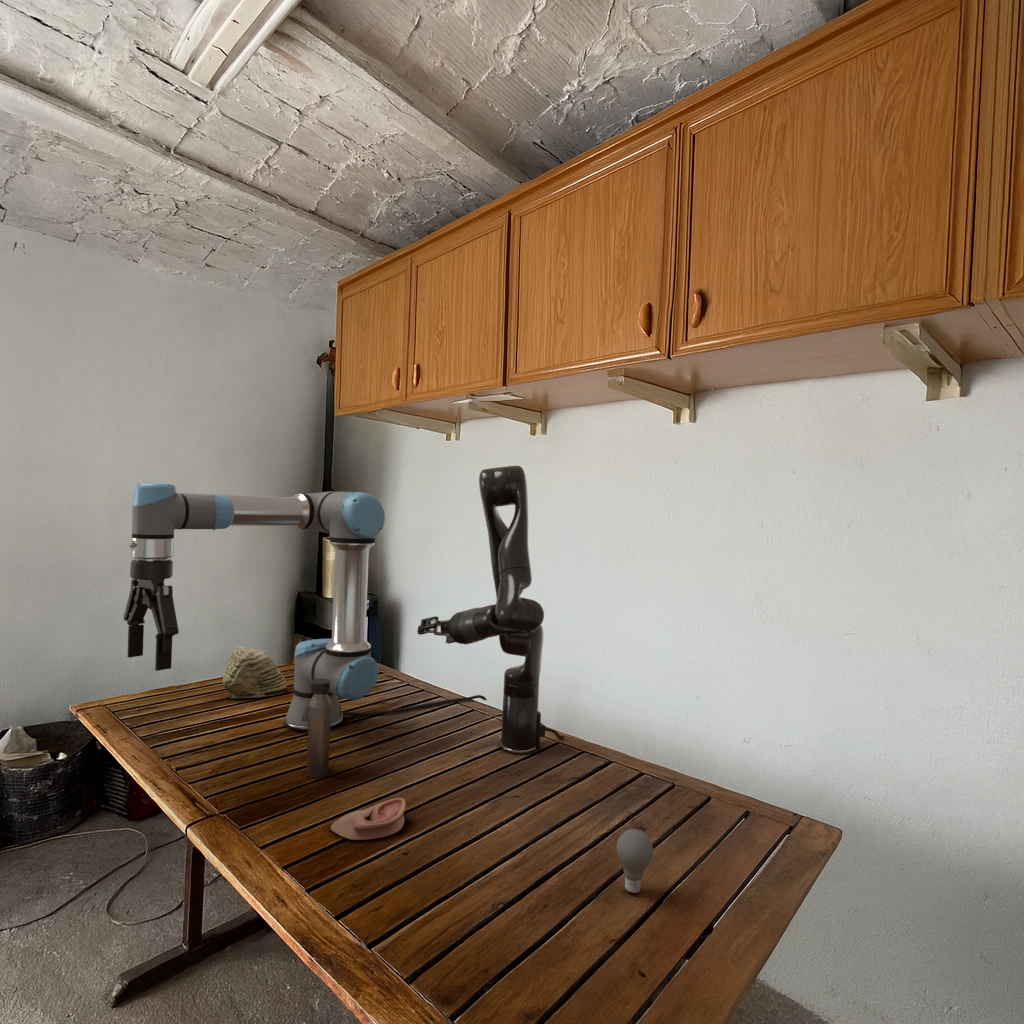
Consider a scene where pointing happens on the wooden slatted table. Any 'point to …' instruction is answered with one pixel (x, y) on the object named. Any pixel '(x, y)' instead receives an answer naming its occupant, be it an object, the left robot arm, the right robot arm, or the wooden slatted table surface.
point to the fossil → (252, 674)
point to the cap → (320, 686)
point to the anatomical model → (372, 821)
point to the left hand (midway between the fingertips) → (148, 662)
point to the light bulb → (634, 857)
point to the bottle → (318, 736)
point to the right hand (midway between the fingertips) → (433, 634)
